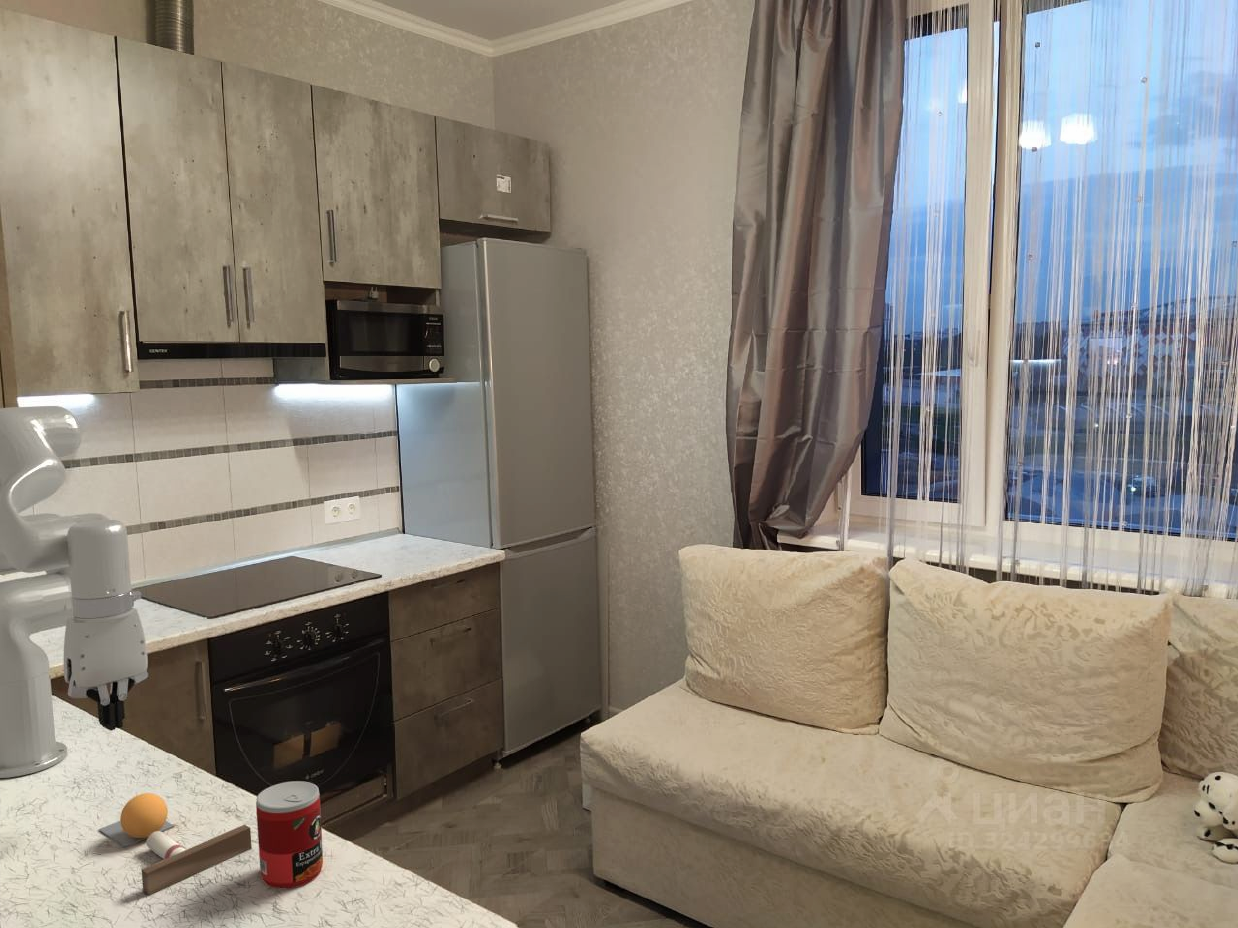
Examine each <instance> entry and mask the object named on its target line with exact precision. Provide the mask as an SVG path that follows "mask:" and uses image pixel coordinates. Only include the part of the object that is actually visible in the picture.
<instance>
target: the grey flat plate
mask: <svg viewBox="0 0 1238 928" xmlns="http://www.w3.org/2000/svg"><path fill="white" fill-rule="evenodd" d="M172 828H175V825H174V824H172V823H171V822H169V821H167V820H166V821H165V823H164V825H163V827H162V828H161V829H160V830H159V831H161V832H162V833H164V832H165V831H167V830H170V829H172ZM98 831H99V832H101V833H102V834H103V835H105V836H107V837H108V838H109V839H111V840H113V841H114V842H116V843H117V844H118V845H120V846H121V847H122V848H127V847H129V846H131V845H134V844H137V843H139V842H141V841H143V840H147V839H148V837H146V838H134V837H131V836H129V835H128V834H126V833H125V831H124V830H123V828H122V826H121V822H120V820H119V821H116V822H114V823H111V824H109V825H108V824H107V825H106V826H103V827H100V828H99V829H98Z"/></svg>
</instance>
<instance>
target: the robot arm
mask: <svg viewBox="0 0 1238 928" xmlns="http://www.w3.org/2000/svg"><path fill="white" fill-rule="evenodd" d="M81 442H82V429H81V426H80V423H79V421H78V419H77V418H76V416H75V415H74V414H73V413H72V412H71V411H70V410H68V409H67V408H65V407H62V406H59V405H43V406H39V405H38V406H15V407H13V406H12V407H2V408H0V576H3V575H9V574H17V573H27V574H34V573H40V572H41V573H42V572H45V573H46V574H39V575H35V576H28V577H27V576H26V577H21V578H16V579H14V578H13V579H10V580H9V579H8V580H4V581H0V779H7V778H9V779H10V778H16V777H21V776H26V775H31V774H34V773H37V772H40V771H43V770H46V769H49V768H51V767H52V766H53V767H54V766H55V765H57V764H59V763H60V762H62V761H63V760H65V758H66V757H67V755H68V747H67V746H66V744H64V743H63V742H59V741H56V730H55V719H54V708H53V707H54V706H53V695H52V684H51V683H52V682H51V671H50V661H49V657H48V655H47V652H46V651H45V650H44V649H43V648H42V647H40V646H39V645H38V644H36V643H35V642H34V641H33V640H31V638H30V636H31V635H34V634H38V633H40V632H45V631H50V630H55V629H59V628H63V627H65V631H64V639H63V640H64V642H63V676H64V681H65V683H67V684H68V688H67V689H68V690H67V696H69V698H72V699H86V698H89V699H90V700H93V701H94V702H96V705H97V716H98V724H99V725H100V726H102V727H103V728H105V729H106V730H108V731H115V730H116V729H121V728H123V726H124V723H123V720H125V719H126V718H125V716H126V715H125V702H124V701H125V700H126V699H127V696H128V694H129V692H130V691H131V689H132V688H133V687H134V685H136V684H138V683H140V682H143V681H144V680H146V679H147V678H148V676H149V673H148V671H147V670H148V662H149V661H148V651H147V650H148V649H147V644H146V643H147V642H146V637H145V633H144V628H143V624H142V620H141V617H140V615H139V612H138V609H137V608H135V602H136V601H138V600H141V598H142V593H141V591H140V590H134V589H133V588H132V582H131V572H130V571H131V569H130V568H131V567H130V554H129V542H128V531H127V527H126V525H125V524H124V523H123V522H122V521H120V520H116V519H110V518H109V517H108V516H106V515H104V514H102V513H91V512H90V513H83V514H74V515H65V516H61V515H59V514H56V513H38V514H31V515H21V513H22V512H23V511H26V510H27V509H30V508H32V507H34V506H35V505H37V504H39V503H41V502H43V501H45V500H46V499H48V498H50V497H51V496H53V495H55V493H57V492H58V491H59V489H61V487H62V486H63V485H64V483H65V481H66V477H67V470H66V468H65V465H64V463H63V462H62V461H61V459H60V458H65V457H68V456H71V455H73V454H74V453H75V452H77V450H78V449H79V448H80V446H81ZM108 684H110V690H109V691H110V693H109V691H108Z"/></svg>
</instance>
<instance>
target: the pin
mask: <svg viewBox="0 0 1238 928" xmlns="http://www.w3.org/2000/svg"><path fill="white" fill-rule="evenodd" d="M146 846H147V848H148V849H150V850H151V851H152V852H154V853H155V854H156V855H157V856H158V857H160V858H162V860H164V859H167V858H169V857H171V856H173V855H176V854H178V853H180V852H183V851H185V850H187V849H186V847H184V846H183V845H181V844H179V843H178V842H176V841H175V840H174V839H172V838H170V837H169V836H168V835H167V834H165V833H164V832H161V831H156V832H153V833H152V834H151V835H150V836H149V837H148V838H146Z"/></svg>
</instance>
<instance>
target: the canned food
mask: <svg viewBox="0 0 1238 928" xmlns="http://www.w3.org/2000/svg"><path fill="white" fill-rule="evenodd" d="M320 796H321V794H320V790H319V786H317V785H316V784H314V783H312V782H308V781H299V780H296V781H294V780H293V781H286V782H285V781H284V782H281V783H277V784H274V785H271V786H269V787H266V788H264V789H263V790H262V791H260V792H259V793H258V795H257V796H256V800H255V801H256V802H255V804H256V811H255V812H256V823H257V827H256V828H257V837H258V838H257V839H258V855H259V870H260V871H259V872H260V876H261V879H262V881H263V883H264V884H266V886H269V887H271V888H275V889H280V888H281V889H283V888H284V890H285V888H286V889H293V888H298V887H301V886H303V885H307V884H308V882H309V883H310V882H312V881H314V879H316V878H317V877H318V876H319V875H320V874H321V872H322V868H323V865H324V854H323V853H324V852H323V835H322V834H323V833H322V811H321V810H322V809H321V797H320ZM300 885H301V886H300ZM297 886H298V887H297Z"/></svg>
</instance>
